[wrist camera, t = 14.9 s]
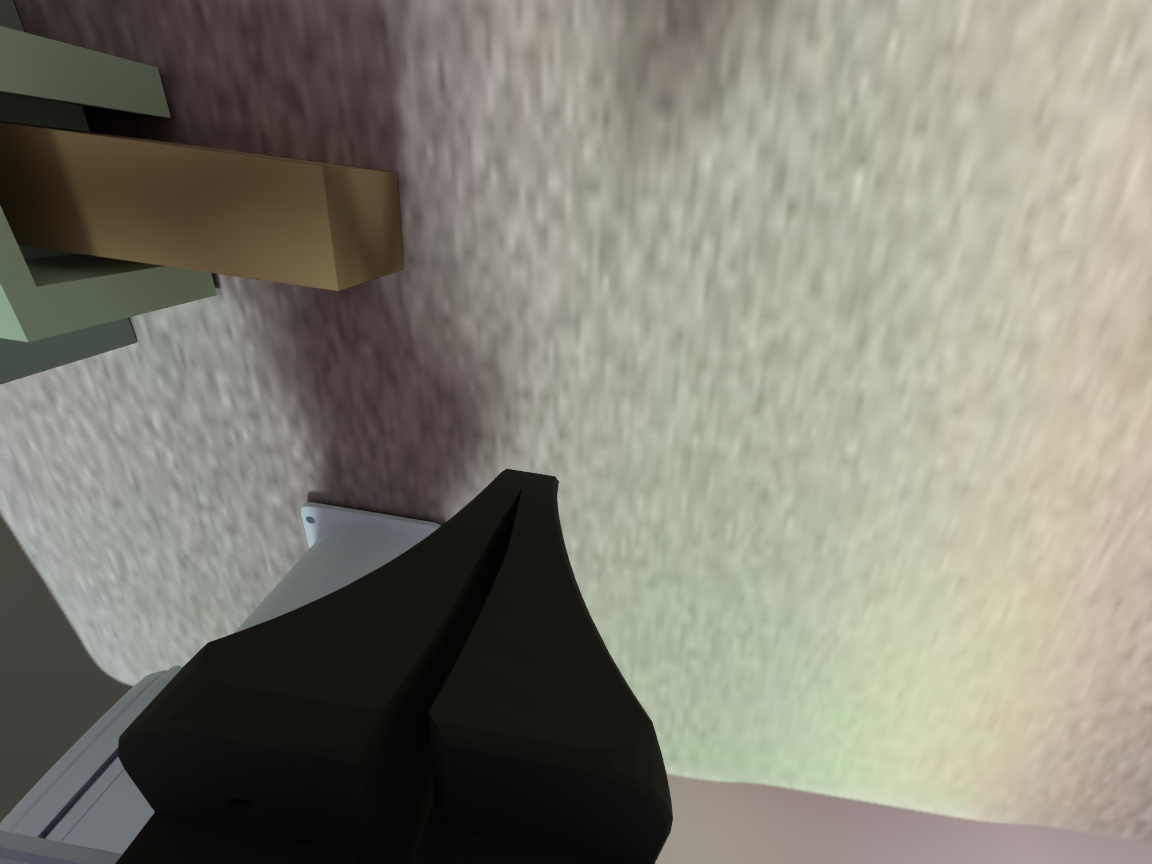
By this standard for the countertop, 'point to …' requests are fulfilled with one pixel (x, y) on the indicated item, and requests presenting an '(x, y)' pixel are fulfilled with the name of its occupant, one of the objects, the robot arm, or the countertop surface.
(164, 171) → the bar
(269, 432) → the countertop surface
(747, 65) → the countertop surface
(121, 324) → the board
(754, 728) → the countertop surface
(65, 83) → the block
